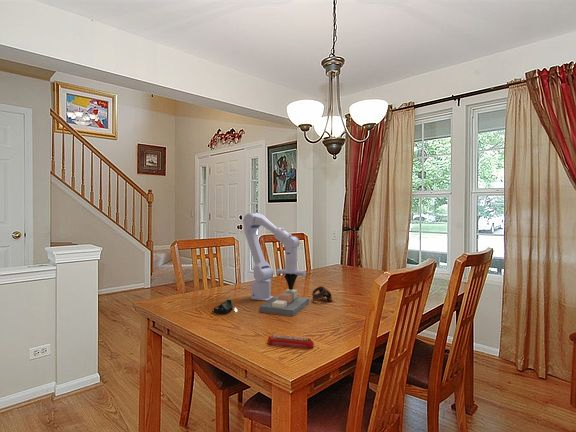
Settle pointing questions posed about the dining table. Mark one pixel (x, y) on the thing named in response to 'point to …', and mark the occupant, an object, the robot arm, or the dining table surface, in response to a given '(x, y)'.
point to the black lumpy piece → (224, 307)
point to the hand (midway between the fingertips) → (290, 289)
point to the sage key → (294, 293)
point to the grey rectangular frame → (288, 310)
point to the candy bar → (290, 341)
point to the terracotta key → (285, 297)
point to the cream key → (279, 304)
